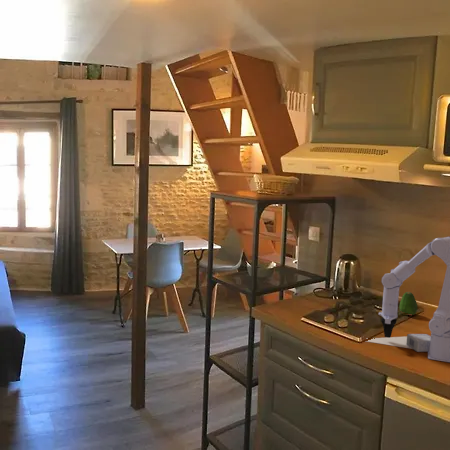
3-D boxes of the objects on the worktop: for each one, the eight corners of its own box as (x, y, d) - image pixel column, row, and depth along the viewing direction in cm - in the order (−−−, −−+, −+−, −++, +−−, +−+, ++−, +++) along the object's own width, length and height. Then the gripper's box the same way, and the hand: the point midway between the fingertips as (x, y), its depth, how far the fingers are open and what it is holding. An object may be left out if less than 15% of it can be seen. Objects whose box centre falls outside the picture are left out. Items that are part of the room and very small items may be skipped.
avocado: (395, 315, 238) (397, 290, 236) (407, 314, 241) (410, 289, 240) (407, 320, 230) (409, 294, 229) (420, 319, 233) (422, 293, 232)
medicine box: (416, 352, 188) (437, 352, 190) (418, 340, 188) (439, 340, 189) (405, 344, 196) (426, 344, 197) (407, 333, 195) (427, 333, 197)
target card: (415, 334, 210) (415, 333, 210) (413, 349, 192) (413, 348, 192) (365, 326, 217) (365, 326, 217) (359, 340, 199) (360, 340, 199)
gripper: (381, 297, 206) (378, 330, 207) (377, 306, 192) (375, 340, 194) (399, 300, 203) (396, 333, 204) (397, 308, 190) (394, 343, 191)
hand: (387, 336), depth 199 cm, fingers closed
